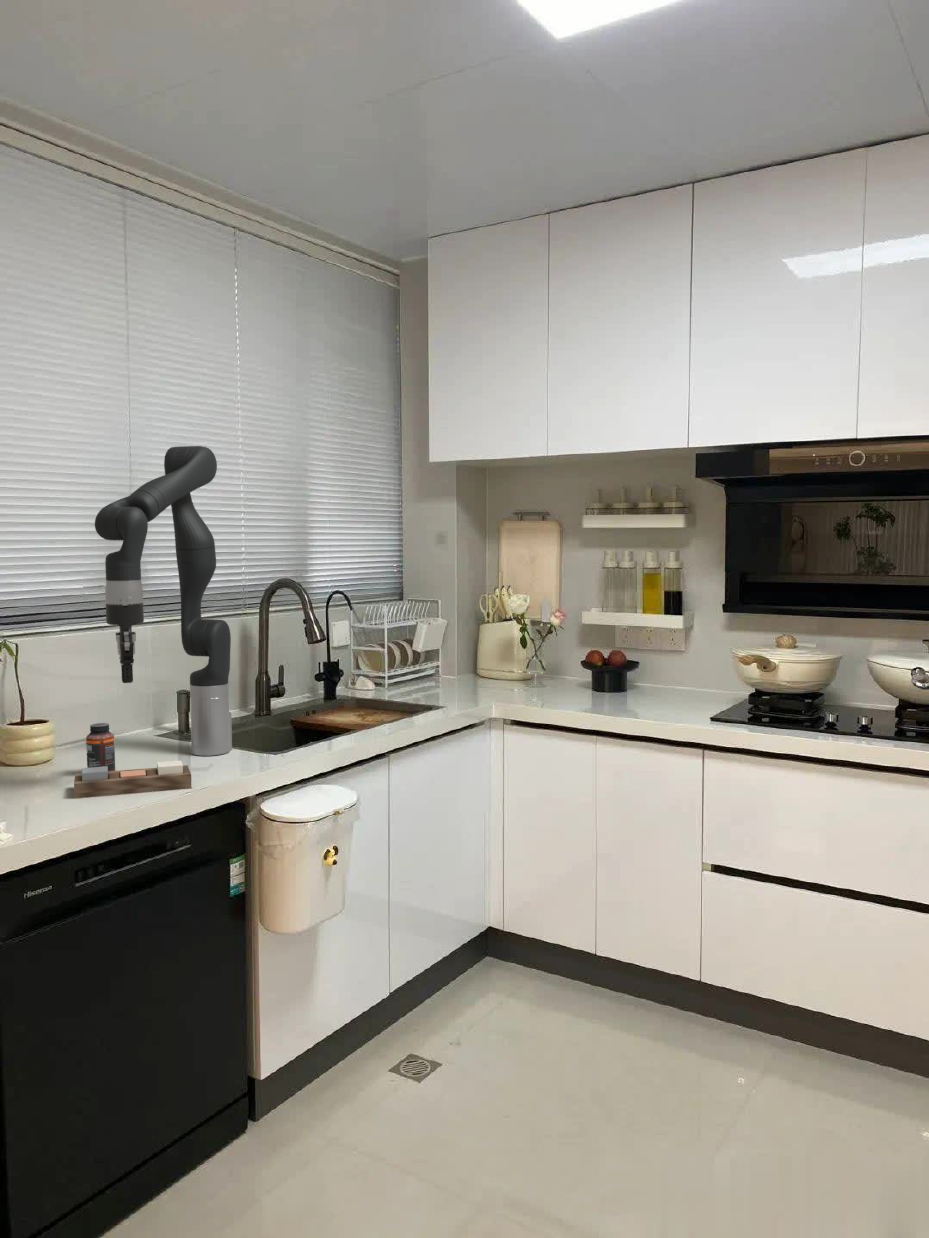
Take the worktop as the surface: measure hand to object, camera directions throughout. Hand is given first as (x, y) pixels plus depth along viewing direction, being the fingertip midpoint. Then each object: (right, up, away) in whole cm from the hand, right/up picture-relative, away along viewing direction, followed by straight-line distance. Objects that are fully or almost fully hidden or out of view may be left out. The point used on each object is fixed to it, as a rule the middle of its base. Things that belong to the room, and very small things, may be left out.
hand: (127, 682), depth 203 cm
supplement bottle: (-10, -22, +12) cm, 26 cm away
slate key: (-5, -20, -4) cm, 21 cm away
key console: (+2, -22, -1) cm, 23 cm away
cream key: (+9, -20, +1) cm, 22 cm away
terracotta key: (+2, -21, -1) cm, 21 cm away
